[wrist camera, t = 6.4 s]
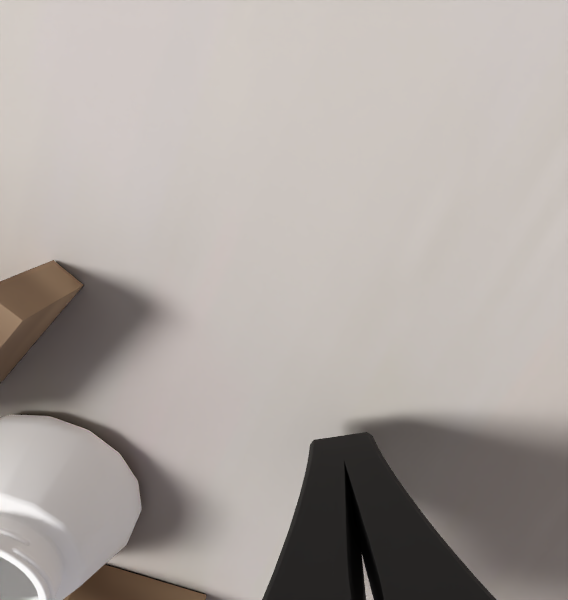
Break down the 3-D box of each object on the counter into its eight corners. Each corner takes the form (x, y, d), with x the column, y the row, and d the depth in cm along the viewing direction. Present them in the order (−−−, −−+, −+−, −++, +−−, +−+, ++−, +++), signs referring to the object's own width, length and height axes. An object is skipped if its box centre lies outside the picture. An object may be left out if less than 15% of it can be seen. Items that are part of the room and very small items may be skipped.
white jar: (78, 566, 12) (182, 484, 11) (11, 690, 9) (142, 598, 8) (-66, 474, 11) (32, 370, 9) (-193, 583, 8) (-78, 457, 7)
